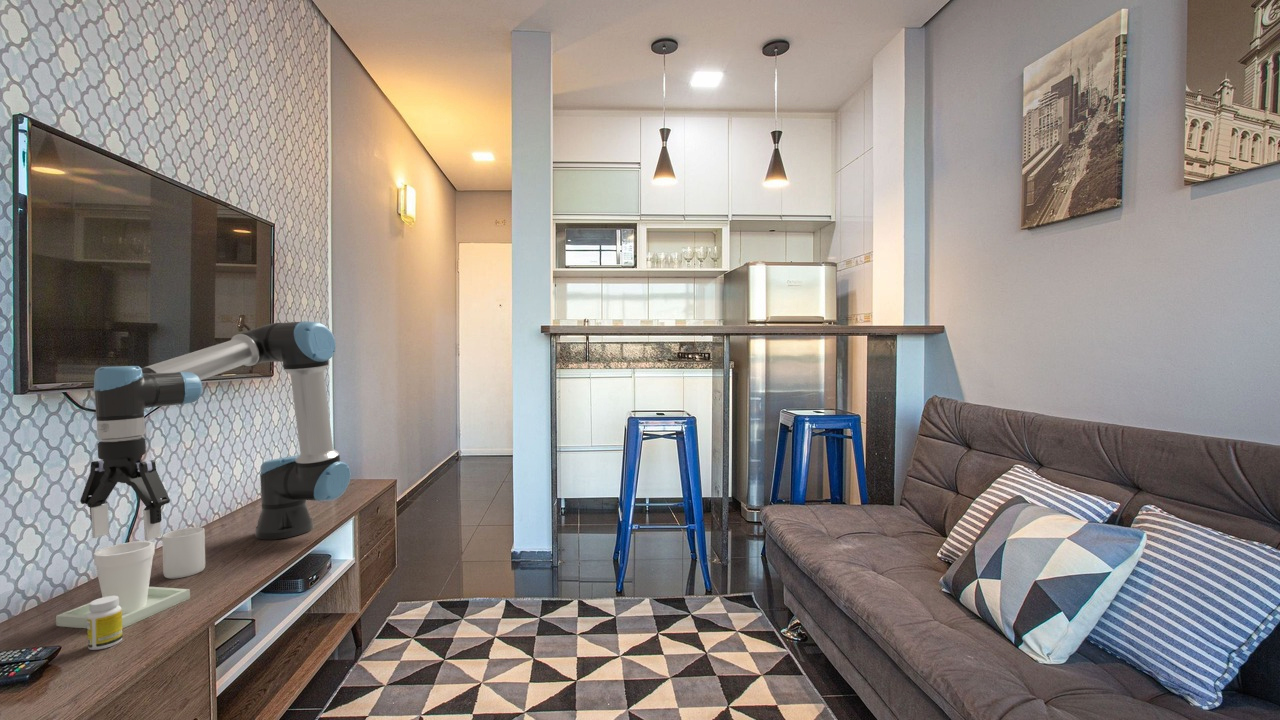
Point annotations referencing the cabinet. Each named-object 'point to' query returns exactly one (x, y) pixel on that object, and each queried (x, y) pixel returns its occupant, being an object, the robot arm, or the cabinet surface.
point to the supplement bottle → (104, 623)
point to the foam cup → (126, 572)
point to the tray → (154, 604)
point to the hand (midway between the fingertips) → (126, 537)
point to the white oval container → (183, 552)
